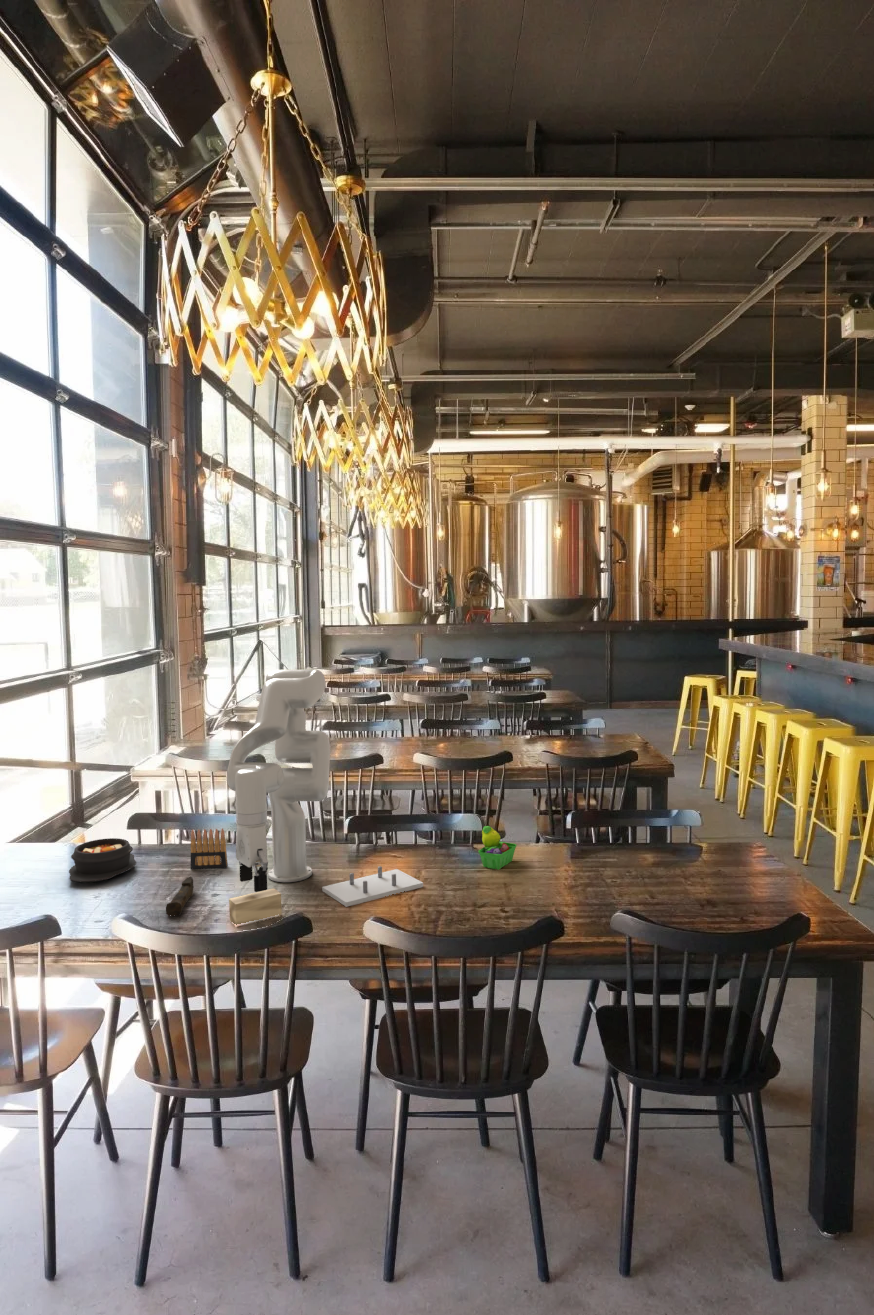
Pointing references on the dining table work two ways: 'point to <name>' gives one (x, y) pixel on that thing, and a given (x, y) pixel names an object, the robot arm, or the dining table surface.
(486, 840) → the fruit basket
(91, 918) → the dining table surface
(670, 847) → the dining table surface
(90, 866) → the casserole
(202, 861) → the ammunition clip
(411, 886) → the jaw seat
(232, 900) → the block
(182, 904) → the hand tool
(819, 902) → the dining table surface
